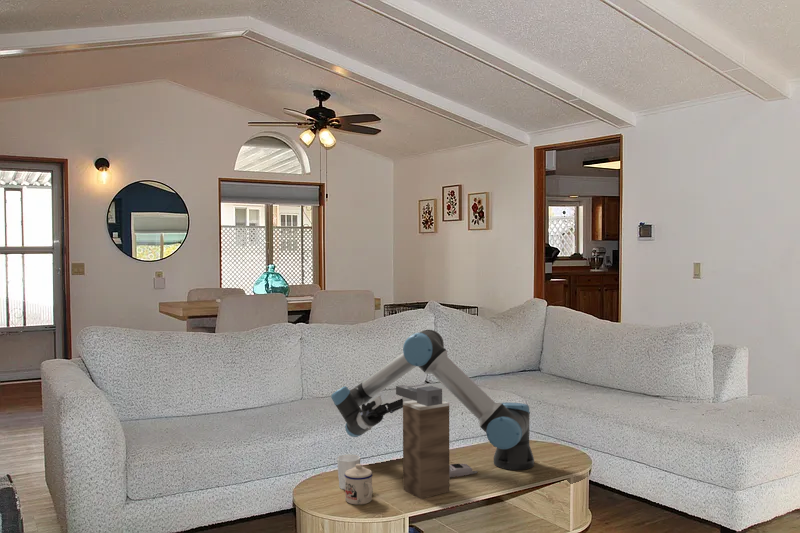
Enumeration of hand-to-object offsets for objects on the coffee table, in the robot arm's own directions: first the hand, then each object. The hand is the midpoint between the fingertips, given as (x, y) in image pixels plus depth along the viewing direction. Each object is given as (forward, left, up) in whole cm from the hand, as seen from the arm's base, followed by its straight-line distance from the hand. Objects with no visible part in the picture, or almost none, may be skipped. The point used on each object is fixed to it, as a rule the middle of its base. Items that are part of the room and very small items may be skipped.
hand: (396, 397), depth 247 cm
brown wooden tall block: (-9, +15, -29) cm, 33 cm away
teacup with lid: (+13, +23, -29) cm, 39 cm away
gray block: (-6, +10, +1) cm, 12 cm away
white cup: (+17, +9, -29) cm, 35 cm away
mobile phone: (-17, 0, -29) cm, 34 cm away
